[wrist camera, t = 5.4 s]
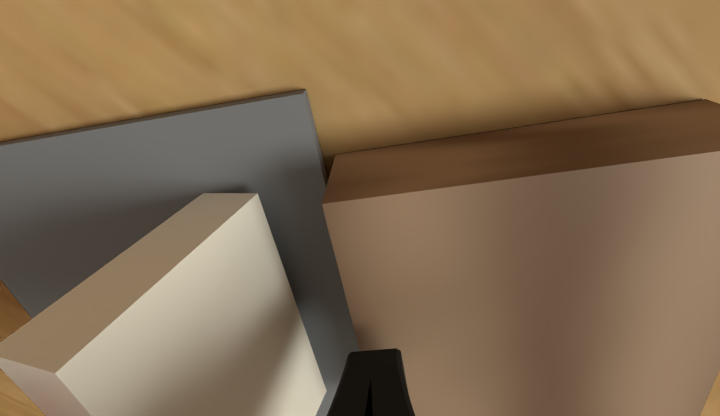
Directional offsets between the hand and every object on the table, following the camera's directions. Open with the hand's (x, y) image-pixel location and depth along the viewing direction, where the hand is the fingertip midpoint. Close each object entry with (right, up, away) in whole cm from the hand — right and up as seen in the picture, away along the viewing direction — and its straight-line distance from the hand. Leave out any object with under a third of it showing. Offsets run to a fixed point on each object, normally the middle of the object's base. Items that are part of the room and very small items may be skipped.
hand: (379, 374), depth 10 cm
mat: (-7, 0, +5) cm, 8 cm away
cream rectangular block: (-4, 0, 0) cm, 4 cm away
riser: (+5, +3, +3) cm, 6 cm away
